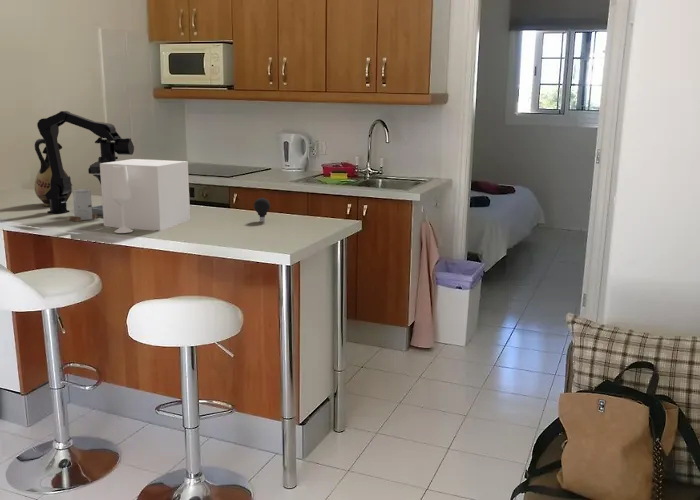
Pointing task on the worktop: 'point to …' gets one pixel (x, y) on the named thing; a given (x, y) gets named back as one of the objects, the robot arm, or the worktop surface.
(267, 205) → the light bulb
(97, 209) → the slate tray
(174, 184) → the cube
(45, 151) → the ceramic jug
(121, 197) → the champagne flute
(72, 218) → the brown wooden block
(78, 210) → the skincare box
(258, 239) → the worktop surface
